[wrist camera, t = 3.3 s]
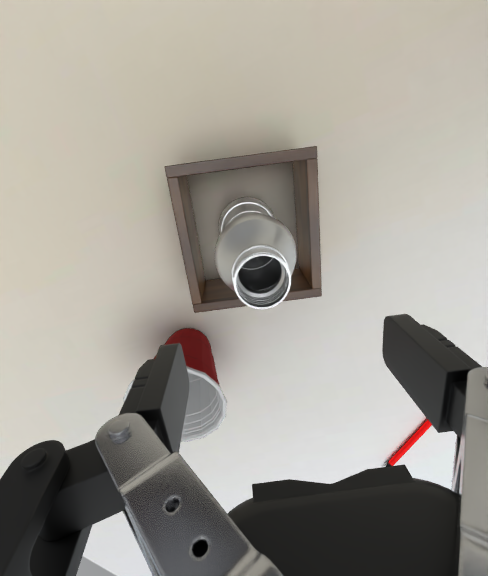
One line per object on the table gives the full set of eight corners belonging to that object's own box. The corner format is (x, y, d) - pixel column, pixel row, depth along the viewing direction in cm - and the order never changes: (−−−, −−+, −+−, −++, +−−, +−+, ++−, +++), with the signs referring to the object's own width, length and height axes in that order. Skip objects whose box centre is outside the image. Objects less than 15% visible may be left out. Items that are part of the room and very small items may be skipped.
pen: (460, 388, 49) (466, 393, 48) (385, 468, 54) (388, 474, 53) (456, 386, 48) (461, 391, 47) (381, 466, 54) (384, 472, 53)
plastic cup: (143, 371, 45) (115, 439, 34) (156, 304, 41) (129, 357, 30) (217, 385, 46) (214, 455, 35) (236, 322, 43) (238, 378, 32)
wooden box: (176, 165, 35) (164, 166, 28) (299, 149, 35) (317, 146, 28) (200, 287, 41) (194, 313, 34) (306, 273, 41) (321, 296, 34)
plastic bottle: (222, 253, 39) (216, 336, 20) (216, 197, 36) (202, 233, 18) (274, 248, 39) (315, 326, 21) (271, 191, 37) (314, 222, 18)
